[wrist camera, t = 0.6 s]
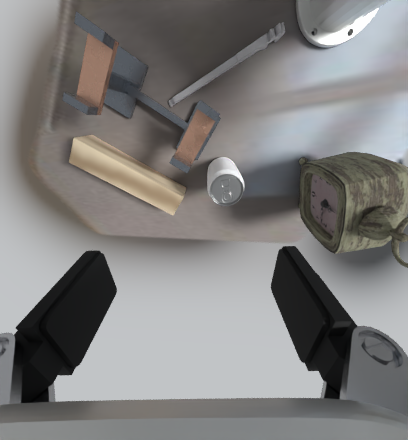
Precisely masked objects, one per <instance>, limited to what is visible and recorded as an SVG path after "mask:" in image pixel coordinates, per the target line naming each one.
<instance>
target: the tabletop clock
mask: <svg viewBox="0 0 408 440" xmlns="http://www.w3.org/2000/svg"><path fill="white" fill-rule="evenodd" d="M299 164H300V165H302V167H301V172H300V187H299V201H300V203H299V205H298V207H299V208H300V214H301V218H302V220H303V222H304V224H305V225H306V227H307V228H308V229H309V231H310V232H311V233H312V234H313V235H314V237H315V238H316V239H317V240H318V241H319V242H320V243H321V244H322V245H323V246H324V247H325V248H326V249H328V250H329V251H330V252H333V253H334V254H336V253H342V252H349V251H355V250H361V249H367V248H373V247H378V246H383V245H385V244H386V243H387V242H389V241H390V240H391V239H392V242H391V244H392V252H393V254H394V256H395V258H396V260H397V261H398V262H399V263H400V264H401V265H403V266H405V267H408V263H405V262H404V261H403V260H402V259H401V258H400V255H399V242H406V241H408V235H406V234H405V233H403V230H404V228H405V226H406V225H407V224H408V217H407V218H406V215H407V213H408V167H406V166H404V165H402V164H400V163H396V162H393V161H390V160H387V159H384V158H381V157H378V156H375V155H372V154H367V153H359V152H347V153H343V154H339V155H335V156H331V157H326V158H322V159H318V160H314V161H310V162H308V160H307V158H305V157H303V158H301V159H300V160H299Z"/></svg>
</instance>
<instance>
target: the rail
mask: <svg viewBox="0 0 408 440" xmlns="http://www.w3.org/2000/svg"><path fill="white" fill-rule="evenodd" d="M69 163H71V164H73V165H75V166H77V167H79V168H81V169H83V170H85V171H87V172H89V173H91V174H93V175H95V176H97V177H99V178H101V179H102V180H104V181H106V182H108V183H110V184H112V185H114V186H116V187H118V188H120V189H122V190H124V191H126V192H128V193H130V194H132V195H134V196H136V197H138V198H140V199H142V200H144V201H146V202H148V203H150V204H152V205H154V206H156V207H158V208H160V209H162V210H164V211H165V212H167V213H169V214H171V215H174V213H175V211H176V210H177V208H178V206H179V204H180V203H181V201H182V199H183V198H184V194H185V191H186V187H184V186H182V185H181V184H179V183H177V182H175V181H173V180H172V179H170V178H168V177H166V176H164V175H163V174H161V173H159V172H157V171H156V170H154V169H152V168H150V167H148V166H147V165H145V164H143V163H141V162H140V161H138V160H136V159H134V158H132V157H131V156H129V155H127V154H125V153H124V152H122V151H120V150H118V149H116V148H115V147H113V146H111V145H109V144H107V143H106V142H104V141H102V140H100V139H99V138H97V137H95V136H93V135H88V136H81V137H75V138H74V139H73V144H72V149H71V154H70V159H69Z"/></svg>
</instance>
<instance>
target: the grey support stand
mask: <svg viewBox="0 0 408 440" xmlns="http://www.w3.org/2000/svg"><path fill="white" fill-rule="evenodd" d="M74 23H75V24H76V25H78V26H79V27H81V28H82V29H84V30H85V31H86V32H88V36H87V41H86V47H85V52H84V58H83V63H82V68H81V74H80V79H79V85H78V90H77V94H72V93H66V92H64V94H63V101H64V102H66V103H68V104H69V105H71V106H73V107H75V108H76V109H78V110H80V111H81V112H83V113H85V114H87V115H101V112H102V108H103V104H104V103H105V104H107V105H108V106H110V107H111V108H113V109H115V110H116V111H118V112H120V113H121V114H123V115H124V116H126V117H128V118H132V115H133V112H134V109H135V106H136V103H137V100H140V101H141V102H143V103H145V104H146V105H148V106H149V107H151V108H152V109H154V110H155V111H157V112H158V113H160V114H161V115H163V116H165V117H166V118H168V119H169V120H171V121H172V122H174V123H175V124H177V125H178V126H180V127H181V128H183V129H184V132H183V134H182V136H181V138H180V140H179V142H178V144H177V146H176V148H178V149H177V151H176V153H175V155H174V156H173V157H172V159H171V161H170V164H172V165H174V166H175V167H177V168H179V169H181V170H182V171H184V172H186V173H188V171H189V170H190V168H191V165H192V163H193V161H194V159H196V160H198V158H199V156H200V155H201V153H202V151H203V149H204V147H205V146H206V144H207V142H208V140H209V138H210V137H211V135H212V133H213V131H214V129H215V128H216V126H217V124H218V122H219V121H220V119H221V118H220V117H219V115H220V114H219V113H218V112H216V111H215V110H214V109H212V108H211V107H209V106H208V105H207V104H205V103H204V102H202V101H201V100H200V101H199V102H198V103H197V105H196V107H195V109H194V111H193V113H192V115H191V117H190V120H189V122H188V123H187V122H186V121H184V120H183V119H181V118H180V117H178V116H177V115H175V114H174V113H172V112H171V111H169V110H168V109H166V108H165V107H163V106H162V105H160V104H159V103H157V102H156V101H154V100H153V99H151V98H150V97H148V96H147V95H145V94H144V93H142V92H141V88H142V85H143V82H144V79H145V76H146V73H147V70H148V66H146V65H145V64H144V63H142V62H141V61H139V60H138V59H136V58H135V57H134V56H132V55H131V54H129V53H128V52H127V51H125V50H124V49H122V48H121V47H120V46H118V45H119V43H118V42H117V41H115V40H114V39H113V38H112V37H111V36H109V35H108V34H107V33H106V32H104V31H103V30H102V29H100V28H99V27H97V26H96V25H95V24H93V23H92V22H90V21H89V20H88V19H86V18H85V17H83V16H82V15H81V14H79V13H78V12H76V16H75V22H74Z"/></svg>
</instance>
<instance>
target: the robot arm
mask: <svg viewBox="0 0 408 440" xmlns="http://www.w3.org/2000/svg"><path fill="white" fill-rule="evenodd" d="M389 1H390V0H296V14H297V21H298V24H299V27H300V30H301V32H302V33H303V35H304V37H305V38H306V39H307V40H308V41H309V42H310V43H312V44H313V45H315V46H318V47H323V48H330V47H334V46H338V45H340V44H342V43H344V42H346V41H348V40H350V39H351V38H353V37H354V36H355V35H357V34H358V33H359V32H360V31H361V30H362V29H363V28H364V27H365V26H366V25H367V24H368V23H369V22H370V21H371V19H372V18H373V17H374V15H375V14H376V13H377V11H378V9H379V8H380V7H381V6H382V5H384V4H386V3H387V2H389ZM311 32H312V33H313V36H312V34H311ZM347 33H348V35H347ZM271 290H272V293H273V295H274V298H275V300H276V303H277V305H278V308H279V310H280V312H281V315H282V317H283V320H284V322H285V324H286V327H287V329H288V332H289V334H290V337H291V339H292V341H293V344H294V346H295V349H296V351H297V354H298V356H299V358H300V360H301V361H302V362H303V363H305V364H306V366H307V369H308V371H319V373H320V375H321V377H322V379H323V380H324V383H323V388H322V393H321V398H236V399H169V400H114V401H113V400H112V401H66V402H55V391H54V381H55V379H56V377H57V375H72V373H73V371H74V369H75V368H76V366H78V365H79V364H80V363H81V362H82V359H83V358H84V356H85V354H86V352H87V350H88V348H89V346H90V344H91V342H92V340H93V338H94V336H95V334H96V332H97V330H98V328H99V326H100V324H101V322H102V321H103V319H104V317H105V315H106V313H107V311H108V309H109V307H110V305H111V303H112V301H113V299H114V297H115V295H116V292H117V288H116V285H115V283H114V280H113V278H112V275H111V272H110V269H109V267H108V264H107V261H106V259H105V256H104V254H102V253H101V252H100V251H86V252H85V253H84V254H83V255H82V256H81V257H80V258H79V259H78V260H77V261H76V263H75V264H74V265H73V266H72V267H71V268H70V269H69V270H68V271H67V272H66V274H64V276H63V277H62V278H61V279H60V280H59V281H58V282H57V283H56V284H55V285H54V286H53V288H52V289H51V290H50V291H49V292H48V293H47V294H46V295H45V296H44V297H43V299H42V300H41V301H40V302H39V303H38V304H37V305H36V306H35V307H34V308H33V309H32V310H31V311H30V313H29V314H28V315H27V316H26V317H25V318H24V319H23V320H22V321H21V322H20V323H19V325H18V326H17V327H16V329H17V330H18V331H17V332H16V333H15V334H14V335H13V334H12V333H2V334H0V440H408V357H407V355H406V354H405V352H404V351H403V349H402V348H401V347H400V346H399V345H398V344H397V343H396V342H395V341H394V340H393V339H391V338H390V337H389V336H388V335H386V334H384V333H383V332H381V331H379V330H377V329H374V328H372V327H367V326H357V325H356V324H355V323H354V321H353V320H352V319H351V317H350V316H349V315H348V313H347V312H346V311H345V310H344V308H343V307H342V306H341V304H340V303H339V301H338V300H337V299H336V298H335V296H334V295H333V294H332V292H331V291H330V290H329V289H328V287H327V286H326V284H325V283H324V282H323V281H322V279H321V278H320V277H319V275H318V274H317V273H315V271H314V270H313V269H312V267H311V266H310V265H309V263H308V262H307V261H306V260H305V258H304V257H303V256H302V254H301V253H300V252H299V250H298V249H297V248H296V247H295V246H285V247H283V248H282V249H280V250H279V252H278V256H277V261H276V265H275V270H274V274H273V279H272V283H271Z"/></svg>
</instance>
